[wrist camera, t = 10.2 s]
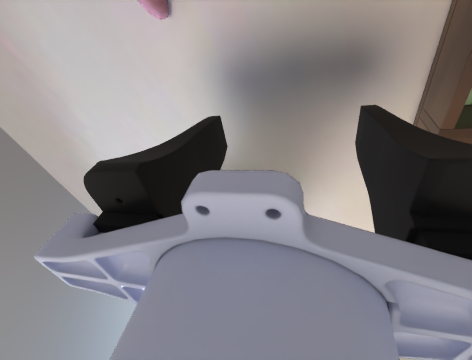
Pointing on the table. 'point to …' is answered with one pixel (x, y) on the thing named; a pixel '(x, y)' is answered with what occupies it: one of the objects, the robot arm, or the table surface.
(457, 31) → the caddy
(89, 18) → the table surface
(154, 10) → the video game controller
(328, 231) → the robot arm
